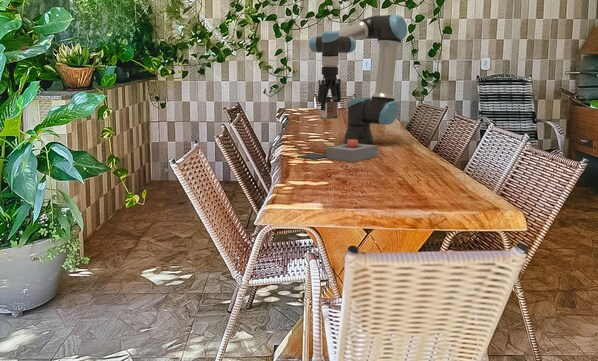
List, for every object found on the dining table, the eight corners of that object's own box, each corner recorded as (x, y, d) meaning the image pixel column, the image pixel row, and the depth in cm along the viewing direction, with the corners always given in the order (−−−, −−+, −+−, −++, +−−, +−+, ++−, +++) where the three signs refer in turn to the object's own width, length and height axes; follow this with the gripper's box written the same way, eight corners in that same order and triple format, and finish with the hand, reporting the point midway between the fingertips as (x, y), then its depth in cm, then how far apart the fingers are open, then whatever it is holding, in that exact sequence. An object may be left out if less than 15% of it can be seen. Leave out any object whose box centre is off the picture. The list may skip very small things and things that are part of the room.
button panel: (351, 153, 326) (351, 142, 325) (377, 156, 317) (377, 145, 316) (326, 158, 311) (326, 147, 310) (352, 162, 302) (353, 150, 301)
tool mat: (313, 154, 322) (313, 153, 322) (330, 156, 316) (330, 155, 316) (296, 157, 313) (296, 156, 313) (314, 160, 307) (314, 158, 307)
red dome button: (351, 149, 317) (351, 139, 316) (359, 151, 314) (360, 139, 313) (345, 151, 313) (345, 140, 312) (353, 152, 310) (354, 140, 309)
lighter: (321, 118, 318) (321, 96, 316) (319, 118, 321) (319, 96, 319) (338, 118, 320) (339, 96, 318) (336, 117, 323) (336, 96, 321)
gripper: (336, 65, 326) (335, 115, 330) (309, 66, 311) (309, 118, 315) (349, 66, 321) (348, 116, 326) (322, 66, 306) (322, 119, 311)
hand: (329, 116), depth 320 cm, fingers closed on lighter, 7 cm apart
